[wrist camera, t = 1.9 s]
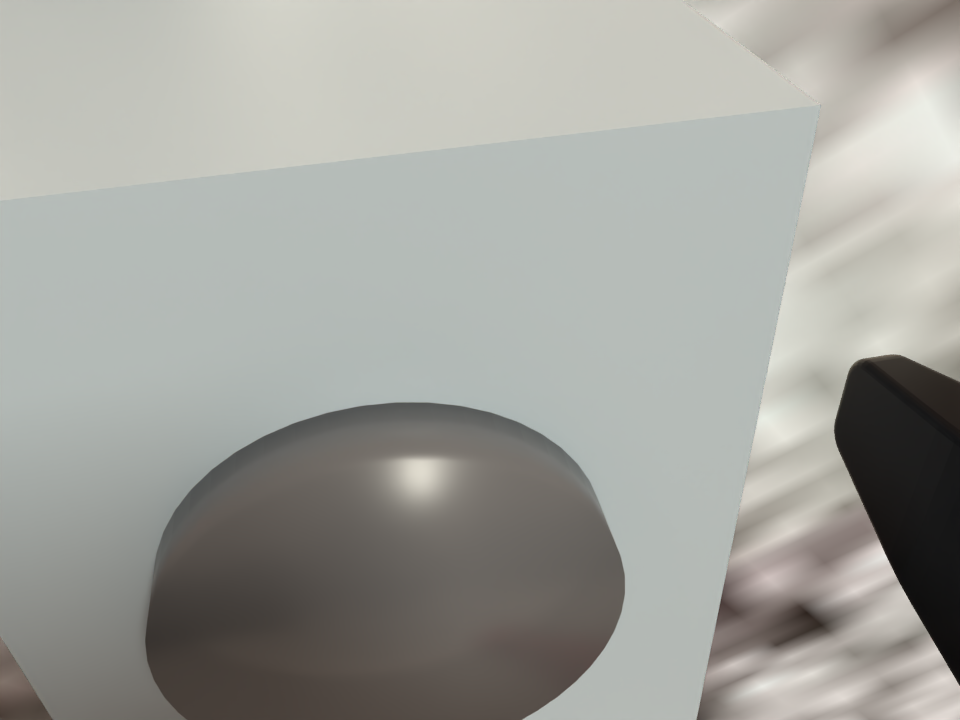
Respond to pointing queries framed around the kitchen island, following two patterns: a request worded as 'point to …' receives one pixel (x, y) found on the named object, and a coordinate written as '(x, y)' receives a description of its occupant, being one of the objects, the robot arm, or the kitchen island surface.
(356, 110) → the block with dome knob
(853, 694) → the kitchen island surface
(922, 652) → the kitchen island surface
